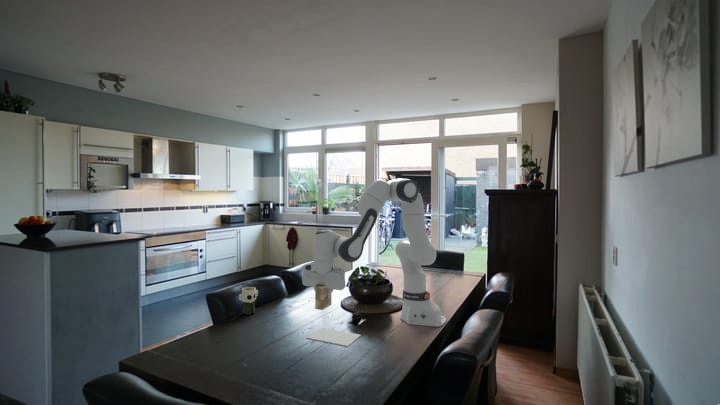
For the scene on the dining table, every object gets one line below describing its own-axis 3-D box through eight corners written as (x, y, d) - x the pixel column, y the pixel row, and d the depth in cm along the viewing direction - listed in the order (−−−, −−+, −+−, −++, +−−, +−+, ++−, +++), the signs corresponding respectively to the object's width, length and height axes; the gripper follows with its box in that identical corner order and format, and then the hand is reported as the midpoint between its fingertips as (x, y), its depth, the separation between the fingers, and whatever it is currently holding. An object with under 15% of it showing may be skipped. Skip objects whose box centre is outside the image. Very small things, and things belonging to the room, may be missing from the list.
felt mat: (360, 335, 165) (360, 334, 165) (347, 346, 153) (347, 345, 153) (321, 328, 173) (321, 327, 173) (306, 338, 162) (306, 337, 162)
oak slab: (331, 304, 168) (331, 282, 167) (322, 310, 160) (322, 286, 160) (324, 303, 169) (324, 281, 169) (315, 308, 162) (315, 285, 161)
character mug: (243, 317, 188) (243, 291, 187) (235, 314, 192) (235, 289, 192) (261, 312, 196) (261, 287, 196) (253, 309, 201) (253, 285, 200)
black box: (356, 327, 176) (356, 318, 176) (343, 325, 180) (343, 315, 180) (369, 319, 187) (369, 310, 187) (356, 317, 191) (356, 308, 190)
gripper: (348, 267, 163) (347, 298, 163) (308, 263, 171) (308, 293, 172) (341, 270, 157) (341, 302, 157) (300, 265, 165) (300, 296, 166)
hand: (323, 297), depth 165 cm, fingers closed on oak slab, 3 cm apart
